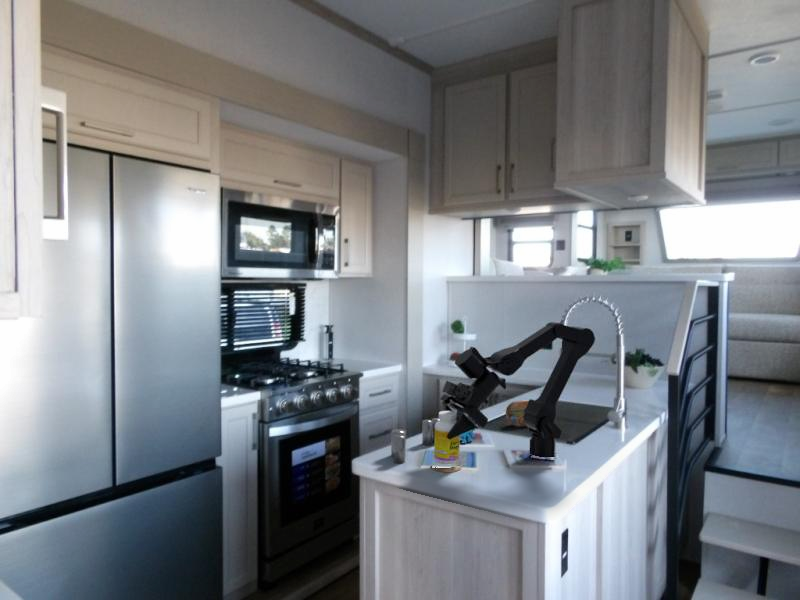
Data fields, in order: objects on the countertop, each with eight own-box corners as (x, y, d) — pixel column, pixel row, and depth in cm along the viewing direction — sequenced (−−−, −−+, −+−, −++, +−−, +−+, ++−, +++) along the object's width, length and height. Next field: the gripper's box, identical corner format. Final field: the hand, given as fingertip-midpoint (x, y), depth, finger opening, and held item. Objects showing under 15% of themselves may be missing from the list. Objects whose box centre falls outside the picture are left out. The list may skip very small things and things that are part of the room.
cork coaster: (464, 464, 154) (464, 463, 154) (456, 474, 146) (456, 472, 146) (435, 460, 156) (435, 459, 156) (426, 470, 149) (426, 468, 149)
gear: (452, 441, 169) (443, 412, 176) (443, 451, 173) (434, 422, 180) (482, 442, 174) (473, 413, 181) (473, 451, 178) (464, 423, 184)
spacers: (442, 441, 175) (442, 418, 175) (416, 465, 152) (417, 439, 152) (413, 437, 178) (413, 415, 178) (383, 461, 155) (383, 435, 155)
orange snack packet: (509, 427, 192) (509, 402, 191) (503, 425, 195) (504, 400, 194) (545, 423, 198) (546, 399, 197) (540, 421, 201) (540, 397, 200)
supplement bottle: (450, 467, 147) (451, 418, 146) (429, 461, 151) (429, 413, 150) (464, 460, 152) (465, 412, 151) (443, 454, 156) (444, 408, 155)
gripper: (446, 364, 160) (409, 407, 157) (477, 376, 143) (436, 423, 140) (471, 390, 163) (436, 432, 160) (504, 405, 146) (465, 452, 142)
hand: (442, 434), depth 150 cm, fingers closed on supplement bottle, 7 cm apart
